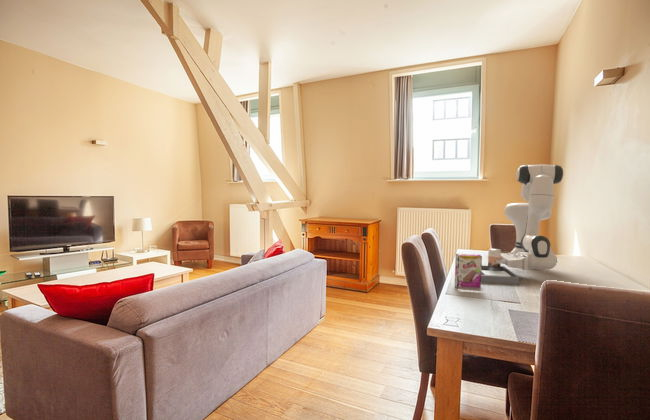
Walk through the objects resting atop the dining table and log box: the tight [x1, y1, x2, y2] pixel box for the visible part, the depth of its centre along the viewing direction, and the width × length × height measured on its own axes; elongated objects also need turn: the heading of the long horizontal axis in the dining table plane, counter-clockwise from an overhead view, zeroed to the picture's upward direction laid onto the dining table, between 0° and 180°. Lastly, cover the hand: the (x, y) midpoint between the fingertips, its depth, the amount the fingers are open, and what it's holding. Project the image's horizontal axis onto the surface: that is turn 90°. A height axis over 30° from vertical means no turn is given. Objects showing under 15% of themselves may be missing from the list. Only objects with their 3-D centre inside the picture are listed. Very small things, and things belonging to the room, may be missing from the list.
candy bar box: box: [454, 253, 483, 289], centre depth 161 cm, size 11×5×16 cm, turn 84°
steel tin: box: [487, 248, 502, 271], centre depth 181 cm, size 6×6×14 cm
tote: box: [481, 265, 520, 286], centre depth 177 cm, size 24×18×4 cm
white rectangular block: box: [481, 270, 511, 277], centre depth 172 cm, size 10×12×4 cm
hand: (493, 259), depth 181 cm, fingers open, 8 cm apart
